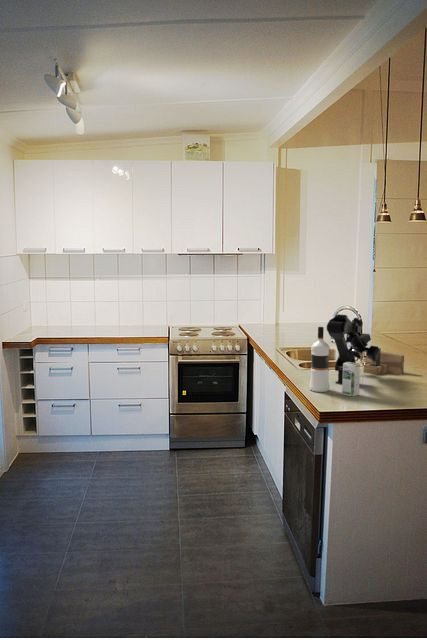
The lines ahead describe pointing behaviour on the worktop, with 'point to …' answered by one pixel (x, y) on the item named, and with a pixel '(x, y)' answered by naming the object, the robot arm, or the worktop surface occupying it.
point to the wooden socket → (385, 364)
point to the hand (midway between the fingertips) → (367, 359)
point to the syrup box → (350, 379)
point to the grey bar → (377, 359)
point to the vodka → (319, 364)
